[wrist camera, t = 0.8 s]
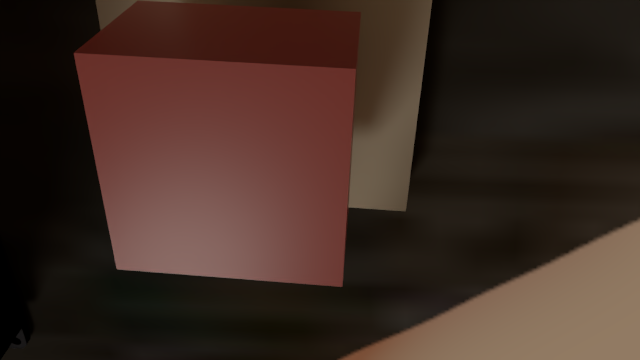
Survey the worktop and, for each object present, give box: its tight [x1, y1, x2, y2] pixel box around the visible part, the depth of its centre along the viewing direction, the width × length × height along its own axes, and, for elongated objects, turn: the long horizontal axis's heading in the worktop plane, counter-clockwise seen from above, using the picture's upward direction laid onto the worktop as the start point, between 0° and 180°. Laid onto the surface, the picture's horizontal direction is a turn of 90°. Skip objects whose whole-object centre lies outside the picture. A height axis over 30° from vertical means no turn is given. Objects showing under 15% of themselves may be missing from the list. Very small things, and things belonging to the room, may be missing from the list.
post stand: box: [96, 0, 432, 211], centre depth 18 cm, size 10×9×6 cm
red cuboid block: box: [74, 1, 361, 287], centre depth 16 cm, size 6×6×4 cm
